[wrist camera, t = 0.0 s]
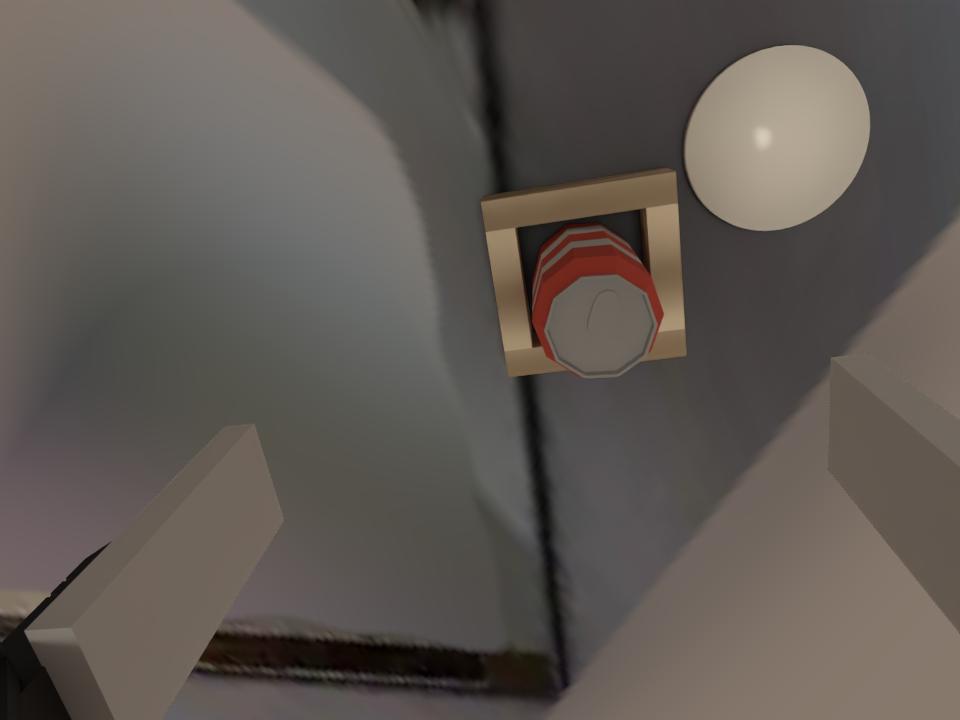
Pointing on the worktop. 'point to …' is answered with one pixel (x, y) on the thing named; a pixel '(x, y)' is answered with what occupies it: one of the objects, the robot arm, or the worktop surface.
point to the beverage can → (593, 302)
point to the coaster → (776, 137)
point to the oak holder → (581, 200)
